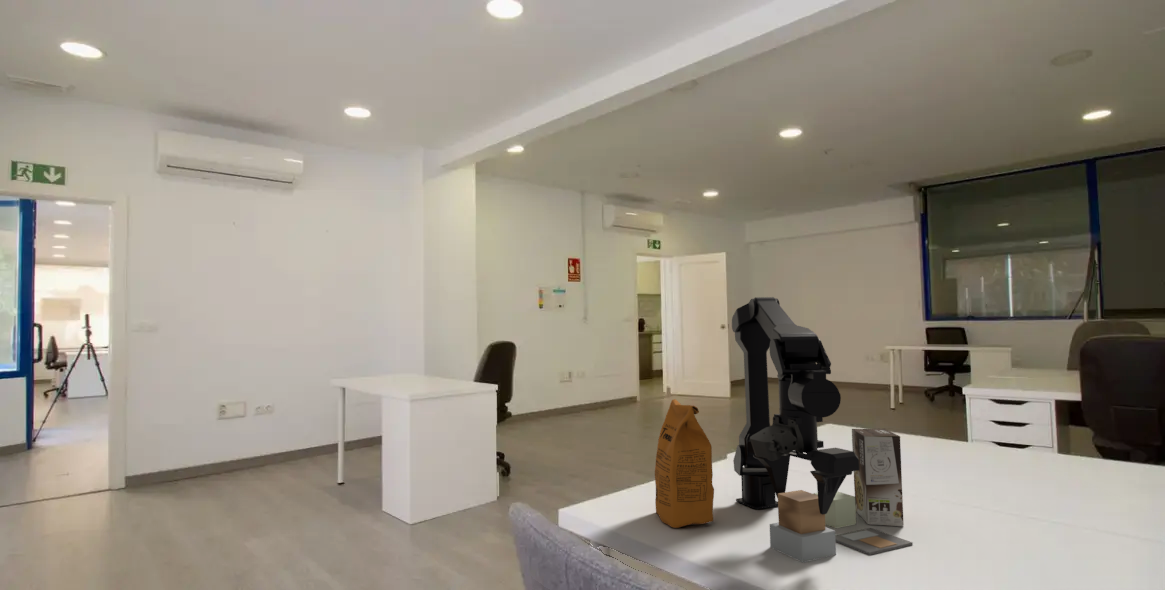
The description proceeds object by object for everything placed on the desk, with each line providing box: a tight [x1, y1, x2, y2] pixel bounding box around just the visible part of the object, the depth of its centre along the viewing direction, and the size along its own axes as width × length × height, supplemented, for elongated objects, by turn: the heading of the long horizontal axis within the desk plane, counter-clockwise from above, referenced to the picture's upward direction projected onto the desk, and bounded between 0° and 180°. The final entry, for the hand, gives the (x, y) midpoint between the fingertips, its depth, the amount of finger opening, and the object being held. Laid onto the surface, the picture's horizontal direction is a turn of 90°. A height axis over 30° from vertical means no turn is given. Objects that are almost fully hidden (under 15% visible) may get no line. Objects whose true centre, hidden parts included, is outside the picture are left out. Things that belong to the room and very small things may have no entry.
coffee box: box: [851, 428, 904, 527], centre depth 110 cm, size 9×6×16 cm
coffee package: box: [654, 398, 715, 529], centre depth 111 cm, size 10×12×22 cm
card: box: [835, 527, 914, 556], centre depth 97 cm, size 8×10×1 cm
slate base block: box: [769, 521, 837, 563], centre depth 94 cm, size 7×7×4 cm
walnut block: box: [777, 489, 826, 534], centre depth 94 cm, size 5×5×5 cm
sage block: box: [813, 490, 857, 529], centre depth 108 cm, size 5×5×5 cm
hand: (801, 506), depth 94 cm, fingers open, 9 cm apart
